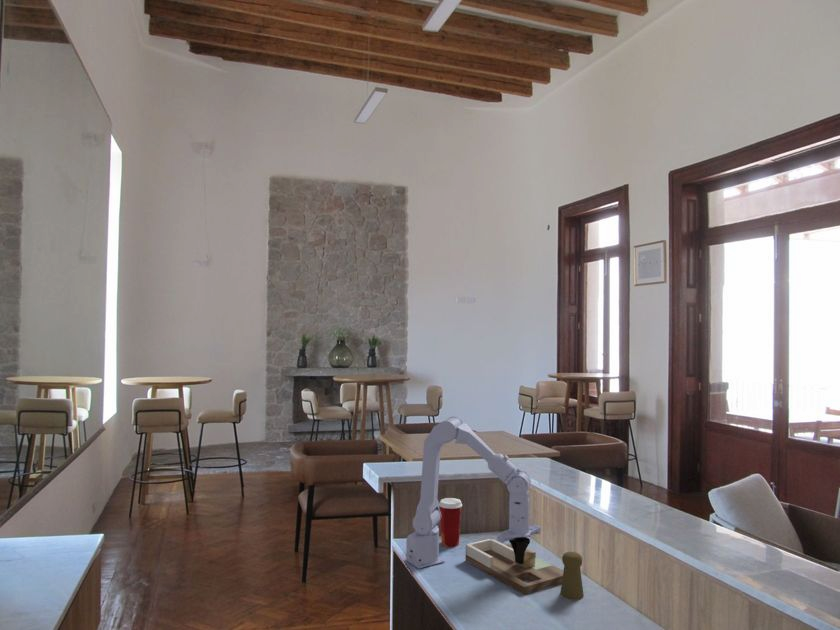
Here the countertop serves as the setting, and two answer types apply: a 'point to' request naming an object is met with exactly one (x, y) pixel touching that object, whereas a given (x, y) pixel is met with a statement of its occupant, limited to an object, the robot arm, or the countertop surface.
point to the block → (528, 559)
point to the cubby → (479, 547)
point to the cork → (572, 576)
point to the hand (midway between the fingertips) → (519, 562)
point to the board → (519, 573)
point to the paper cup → (450, 521)
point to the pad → (540, 564)
